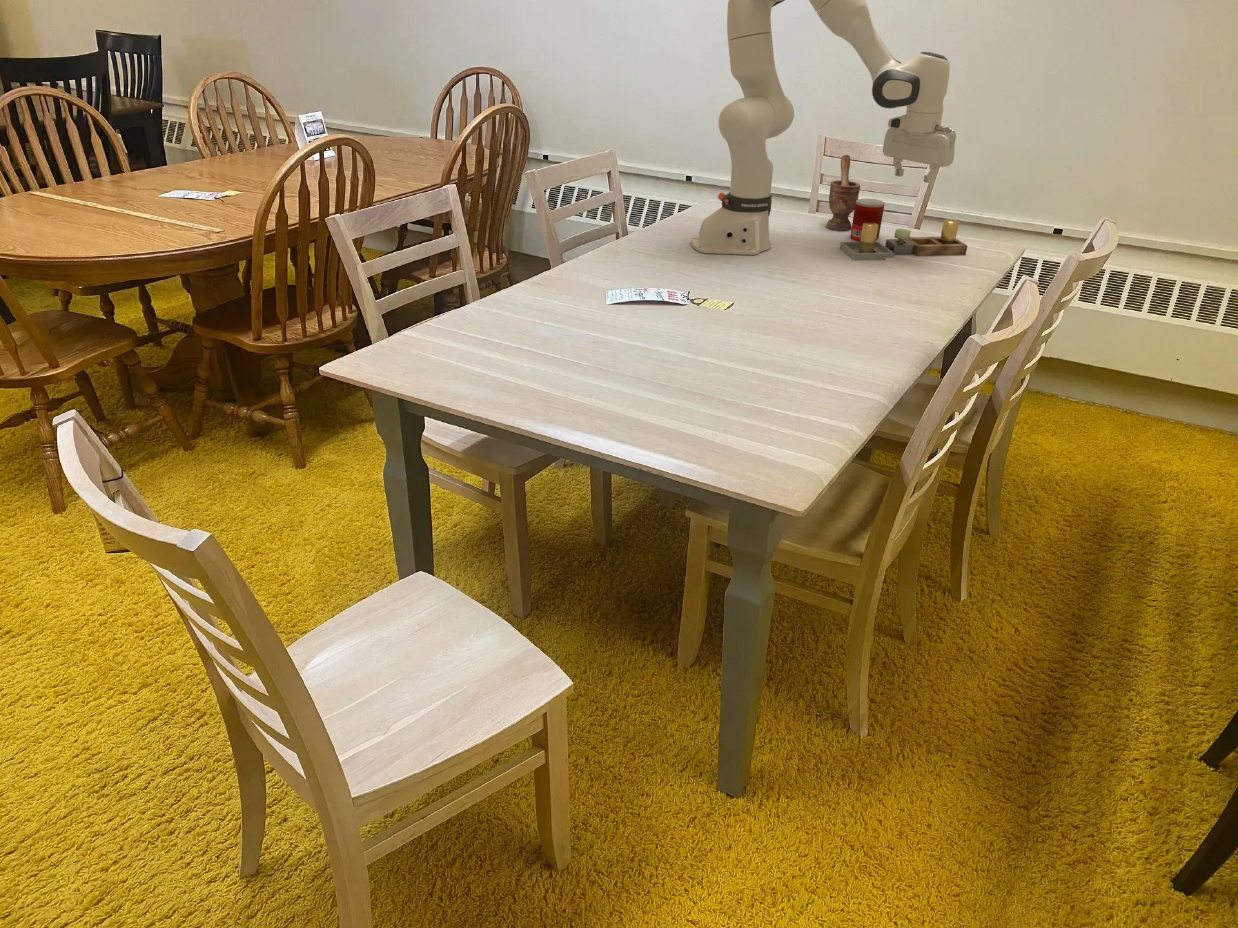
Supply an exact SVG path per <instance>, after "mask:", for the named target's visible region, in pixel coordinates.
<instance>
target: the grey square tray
mask: <svg viewBox="0 0 1238 928" xmlns="http://www.w3.org/2000/svg"><path fill="white" fill-rule="evenodd" d="M839 244H840V245H839V249H840V250H841V251H842V252H844V254H845V255H847V256H848V257H849V258H850V259H851V260H852V261H883V260H884V261H885V260H886V259H893V258H894V256H895V255H894V253H893V252H892V251H891V250H889V249H888V248H887V247H885V245H884V244H883V243H882V242H881V241H879V240H878V241H877V240H876V242H875V247H876V248H878V250H880V251H882V252H877V251H875V250H874V253H858V252H859V246H860V241H840V243H839Z"/></svg>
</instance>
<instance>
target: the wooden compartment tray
mask: <svg viewBox="0 0 1238 928" xmlns="http://www.w3.org/2000/svg"><path fill="white" fill-rule="evenodd" d="M940 237H941V236H912V237H911V236H910V238H909V239H908V240H909V241H911V242H912V243H914V244H915V245H916V248H915V253H914V254H913V255H914V256H916V257H931V256H932V257H933V256H935V257H936V256H966V255H967V254H966V253H967V251H968V245H967V244H965V243H964V242H962V241H960V240H959V239H957V238H956V240H955V244H941V243H940V242H939V241H940Z"/></svg>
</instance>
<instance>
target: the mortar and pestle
mask: <svg viewBox="0 0 1238 928" xmlns="http://www.w3.org/2000/svg"><path fill="white" fill-rule="evenodd" d="M850 168H851V156H850V154H849V155H847V154H845V155H844V154H843V155H842V156H841V158H840V171H841V172H840V173H841V174H840V175H841V180H832V181H831V182H830V187H829V196H828V202H829V203H828V204H829V205H828V206H829V210H830V212H831V213H832V215H833V216H832V218H831V219H829V220H828V221H827V223H826V228H828V229H830V230H833V231H837V232H839V231H840V232H841V231H848V230H850V231H851V229H852V223H851V221H850V219H849V216H850V215H851V214H852V213H854V209H855V203H856V200H858V199H859V194H860V190H861V184H860V183H859V182H856V181H850V180H849V177H850V175H849V174H850V173H849V172H850Z"/></svg>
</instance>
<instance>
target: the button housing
mask: <svg viewBox="0 0 1238 928" xmlns="http://www.w3.org/2000/svg"><path fill="white" fill-rule="evenodd" d="M898 241H899V239H897V238H891V239H890V238H887V239H885V245H884V246H885V247H887V248H888V249H889V250H891V251H892V252H893V253H894V256H897V255H899V256H901V255H902V256H903V255H905V256H906V255H908V256H909V255H914V253H915V248H916V245H915V244H914V243H912V242H911V241H909V240H908V239H906V240H904V243H902V244H898Z"/></svg>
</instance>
